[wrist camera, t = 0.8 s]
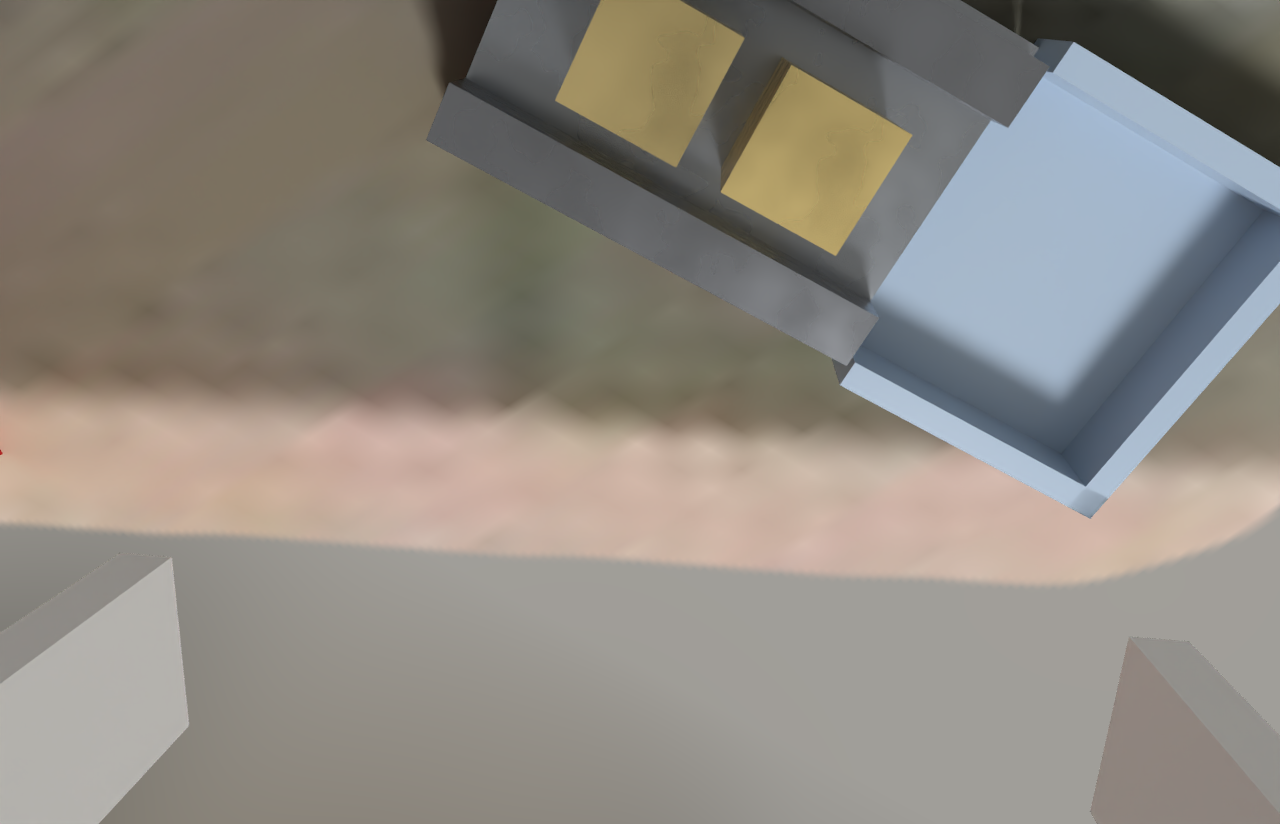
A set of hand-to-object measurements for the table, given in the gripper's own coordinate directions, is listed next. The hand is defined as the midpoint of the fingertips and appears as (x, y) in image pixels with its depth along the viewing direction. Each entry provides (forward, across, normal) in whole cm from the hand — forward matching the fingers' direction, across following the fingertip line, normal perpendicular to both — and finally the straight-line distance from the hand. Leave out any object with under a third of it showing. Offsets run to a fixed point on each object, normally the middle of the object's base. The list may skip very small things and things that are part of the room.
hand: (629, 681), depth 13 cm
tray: (+24, +13, +3) cm, 28 cm away
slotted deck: (+23, +1, +9) cm, 25 cm away
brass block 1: (+21, -2, +10) cm, 23 cm away
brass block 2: (+21, +4, +8) cm, 23 cm away
